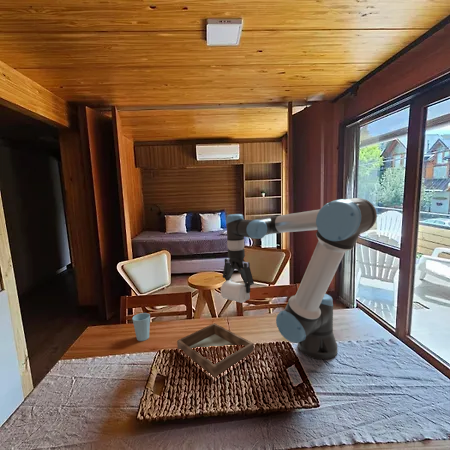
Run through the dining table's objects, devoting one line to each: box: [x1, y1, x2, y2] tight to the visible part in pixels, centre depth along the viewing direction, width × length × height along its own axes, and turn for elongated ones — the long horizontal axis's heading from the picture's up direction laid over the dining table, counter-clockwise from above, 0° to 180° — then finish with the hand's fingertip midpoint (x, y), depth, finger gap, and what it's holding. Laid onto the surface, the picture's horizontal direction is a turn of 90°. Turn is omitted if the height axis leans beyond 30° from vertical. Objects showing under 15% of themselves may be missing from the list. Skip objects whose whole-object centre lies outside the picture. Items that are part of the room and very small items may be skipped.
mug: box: [220, 280, 246, 304], centre depth 122 cm, size 12×10×8 cm
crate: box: [176, 322, 255, 377], centre depth 108 cm, size 24×20×6 cm
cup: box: [131, 312, 151, 342], centre depth 123 cm, size 8×8×10 cm
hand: (238, 296), depth 122 cm, fingers closed on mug, 10 cm apart
